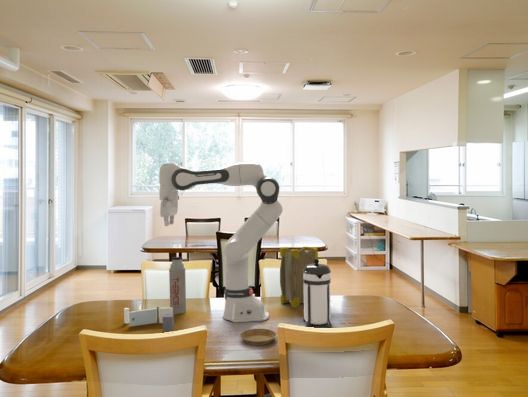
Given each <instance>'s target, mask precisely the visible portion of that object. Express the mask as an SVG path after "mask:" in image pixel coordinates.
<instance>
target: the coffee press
mask: <svg viewBox="0 0 528 397" xmlns="http://www.w3.org/2000/svg"><path fill="white" fill-rule="evenodd" d="M314 262H315V264H308V265H306V266H305V267H304V269H303V277H304V278H303V283H304V303H303V318H302V321H303V322H305V323H306V327H307V326H308V327H311V328H312V326H313V325H326V326H327V328H331V327H332V326H333V324H332V323H331V282H332V281H331V273H332V272H331V271H332V270H331V269H330V267H329V266H328V264H324V263H320V260H319V258H318V259H315V260H314Z"/></svg>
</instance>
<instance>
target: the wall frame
mask: <svg viewBox="0 0 528 397" xmlns="http://www.w3.org/2000/svg"><path fill="white" fill-rule="evenodd" d="M156 309H157V323H156V324H163V316H164V315H165V314H173V309H172V307H170V306H168V307H159V306H156ZM123 316H124V317H123V318H124V319H123V320H124V321H123V322H124V324H130V308H129V307H124V309H123Z"/></svg>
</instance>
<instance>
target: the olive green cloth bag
mask: <svg viewBox="0 0 528 397" xmlns="http://www.w3.org/2000/svg"><path fill="white" fill-rule="evenodd" d="M318 250H319V249H318V248H317V247H312V246H303V247H302V248H300V249H298V248H297V249H295V248H293V249H289V247H280V248H279V256H280V257H281V260H280V267H279V285H280V290H281V291H280V293H281V295H280V303H281V304H284V303H285V304H288V303H289V304H290V306H291V308H297V307H300V304H304V283H303V278H304V277H303V269H304V267H305V266H306V265H308V264H315V262H314V260H315V259H318V260H319V253H318V252H319V251H318Z"/></svg>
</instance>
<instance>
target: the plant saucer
mask: <svg viewBox="0 0 528 397" xmlns="http://www.w3.org/2000/svg"><path fill="white" fill-rule="evenodd" d="M276 336H277V333H276V332H275V331H274V330H271V329H266V328H251V329H248V330H244V331H242V332H241V333H240V336H239V337H240V338H241V339H242V341H244V342H245V343H246V344H248V345H250V346H251V345H252V346H263V345H264V346H265V345H268V344H270V343H271V342H272V341H273V340H274V339H275V338H276Z"/></svg>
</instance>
